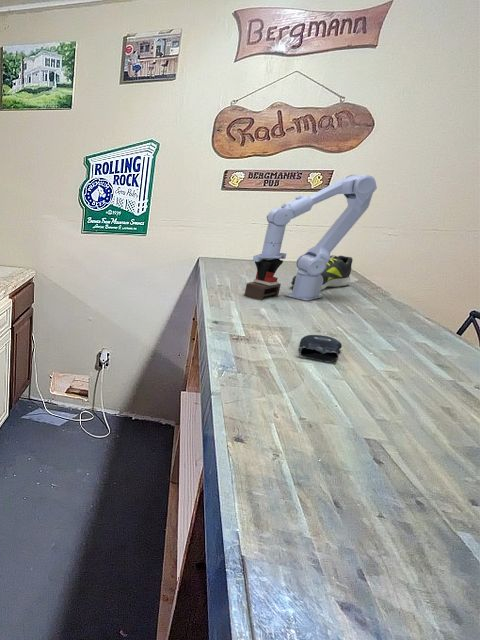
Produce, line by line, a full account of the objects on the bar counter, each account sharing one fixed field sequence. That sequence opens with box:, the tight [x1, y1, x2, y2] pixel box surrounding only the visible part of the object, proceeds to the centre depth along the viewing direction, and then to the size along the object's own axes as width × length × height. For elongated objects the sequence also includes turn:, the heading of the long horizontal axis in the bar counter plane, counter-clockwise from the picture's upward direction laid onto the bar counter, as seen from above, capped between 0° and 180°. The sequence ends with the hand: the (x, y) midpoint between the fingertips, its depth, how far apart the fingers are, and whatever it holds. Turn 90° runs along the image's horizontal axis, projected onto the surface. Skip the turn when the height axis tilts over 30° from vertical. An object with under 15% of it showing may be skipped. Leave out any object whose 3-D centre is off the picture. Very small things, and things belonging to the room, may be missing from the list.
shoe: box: [252, 271, 279, 286], centre depth 172 cm, size 7×4×4 cm, turn 22°
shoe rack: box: [244, 281, 282, 301], centre depth 174 cm, size 10×7×5 cm
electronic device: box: [297, 334, 343, 363], centre depth 123 cm, size 9×6×15 cm
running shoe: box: [290, 254, 353, 291], centre depth 185 cm, size 11×30×12 cm, turn 115°
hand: (264, 279), depth 172 cm, fingers closed on shoe, 3 cm apart
